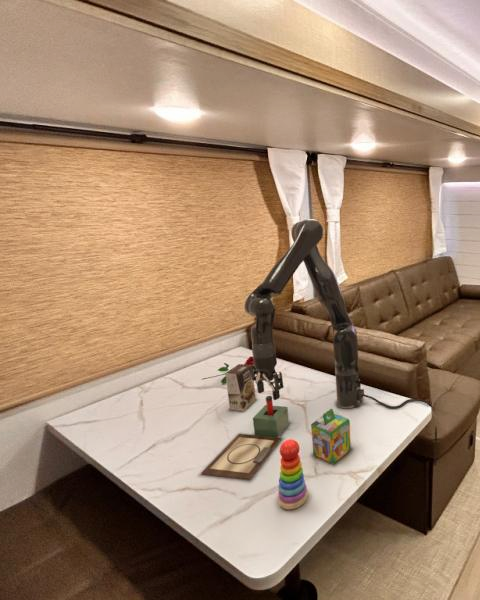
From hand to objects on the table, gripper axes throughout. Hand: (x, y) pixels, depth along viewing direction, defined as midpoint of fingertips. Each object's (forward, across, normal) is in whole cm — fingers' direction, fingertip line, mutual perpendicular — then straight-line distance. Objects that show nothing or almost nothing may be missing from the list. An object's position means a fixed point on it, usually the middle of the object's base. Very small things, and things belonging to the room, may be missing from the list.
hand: (268, 395), depth 132 cm
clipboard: (+14, +4, -14) cm, 20 cm away
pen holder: (+14, 0, 0) cm, 14 cm away
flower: (+14, -49, +17) cm, 54 cm away
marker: (+14, 0, 0) cm, 14 cm away
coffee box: (+14, -24, +4) cm, 28 cm away
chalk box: (+14, +27, +3) cm, 31 cm away
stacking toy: (+14, +32, -18) cm, 39 cm away
